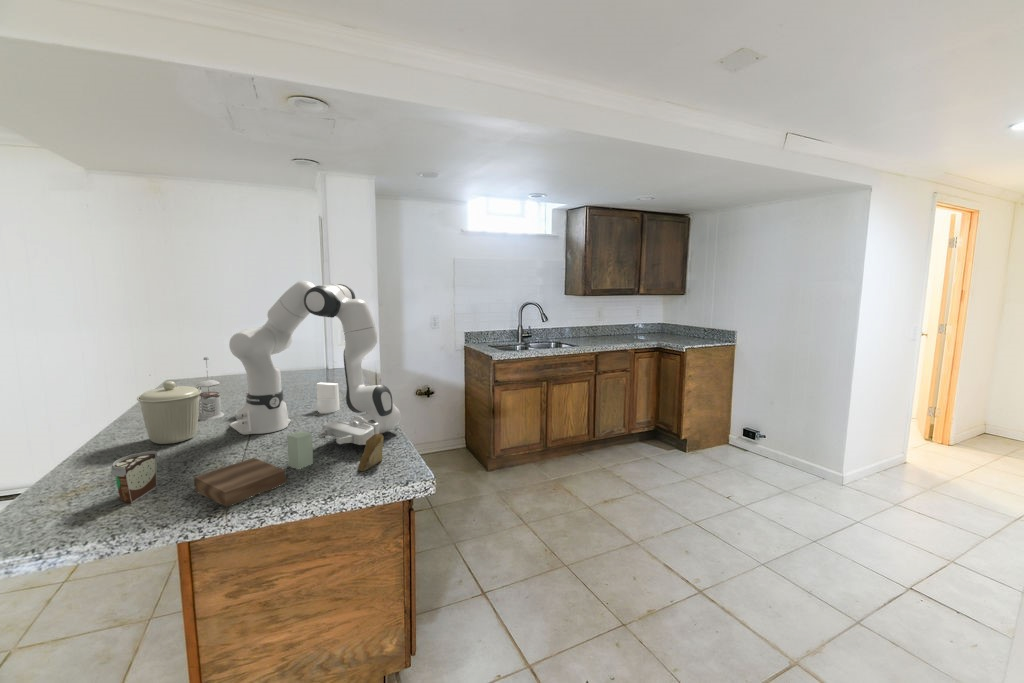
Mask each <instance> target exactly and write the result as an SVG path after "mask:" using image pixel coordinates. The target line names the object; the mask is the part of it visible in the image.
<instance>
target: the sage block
mask: <svg viewBox="0 0 1024 683" xmlns="http://www.w3.org/2000/svg"><path fill="white" fill-rule="evenodd" d="M286 439H287V440H286V442H287V460H288V467H290V466H291V467H290V468H292V467H294V468H293V469H295V468H296V469H295V470H297V469H300V468H302V469H304V468H303V467H305V468H307V467H306V466H308V465H310V466H312V465H311V464H313V465H314V453H313V452H314V450H313V433H311V432H307V431H305V430H299V431H296V432H293V433H289V434H286ZM308 467H309V466H308ZM300 470H301V469H300Z"/></svg>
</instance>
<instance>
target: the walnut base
mask: <svg viewBox="0 0 1024 683" xmlns="http://www.w3.org/2000/svg"><path fill="white" fill-rule="evenodd" d="M286 478H287V477H286V469H284V468H281V467H278V466H275V465H273V464H270V463H268V462H265V461H263V460H260V459H257V458H255V457H251V458H249V459H245V460H242V461H239V462H235V463H232V464H230V465H227V466H224V467H221V468H217V469H214V470H211V471H209V472H205V473H202V474H199V475H196V476H194V477H193V481H194V485H193V486H194V491H195V492H196V493H198V494H200V495H202V496H204V497H206V498H207V499H209V500H212V501H213V500H214V501H213V502H215V501H216V503H217V502H218V503H217V504H219V503H220V504H219V505H221V504H222V505H221V506H223V505H224V506H223V507H225V506H226V507H225V508H228V507H230V506H229V505H231V506H233V505H236V504H238V503H240V501H241V502H243V501H245V500H244V499H246V498H248V499H250V498H249V497H251V496H253V497H255V496H254V495H256V494H258V495H260V494H259V493H261V492H263V493H265V492H264V491H266V492H268V491H267V490H269V491H271V490H272V488H274V489H276V488H278V487H277V486H279V485H281V486H283V485H282V484H284V483H286V484H287V479H286ZM284 485H285V484H284ZM275 487H276V488H275ZM279 487H280V486H279ZM270 489H271V490H270ZM261 494H262V493H261ZM256 496H257V495H256ZM251 498H252V497H251ZM242 500H243V501H242ZM246 500H247V499H246ZM237 502H238V503H237ZM235 503H236V504H235ZM232 504H233V505H232ZM227 506H228V507H227Z"/></svg>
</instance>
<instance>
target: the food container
mask: <svg viewBox="0 0 1024 683" xmlns="http://www.w3.org/2000/svg"><path fill="white" fill-rule="evenodd" d="M158 458H159V456H158V452H157V450H151V451H143V452H137V453H133V454H129V455H126V456H123V457H120V458H118V459H117V460H114V462H113V463H112V465H111V469H110V474H111V475H112V476H113V477H114V478H115V482H116V487H117V491H118V495H119V500H120V502H121V503H123V504H130V505H133V503H135V502H136V501H138V500H140V499H141V498H142V497H144V496H146V495H147V494H149V493H150V492H152V491H153V490H155V489H156V488H157V487H158V472H157V470H158V468H157V467H158V466H157V461H158V460H157V459H158Z"/></svg>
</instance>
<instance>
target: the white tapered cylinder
mask: <svg viewBox="0 0 1024 683" xmlns="http://www.w3.org/2000/svg"><path fill="white" fill-rule="evenodd" d="M339 393H340V392H339V383H333V382H317V383H316V406H317V407H316V410H317V411H318V412H320V413H319V414H329V413H328V412H334V411H337V410H339V411H340V395H339ZM318 412H317V413H318ZM337 412H338V411H337ZM334 413H335V412H334Z"/></svg>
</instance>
